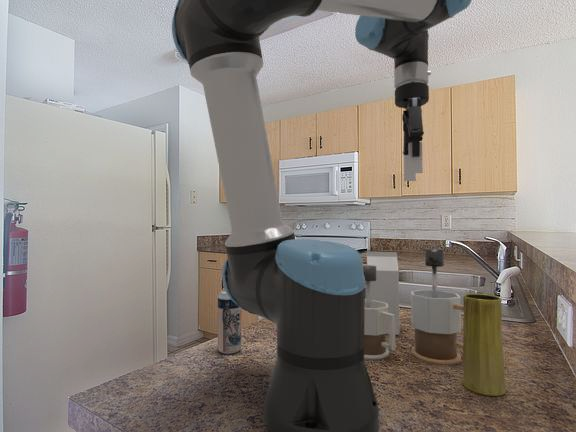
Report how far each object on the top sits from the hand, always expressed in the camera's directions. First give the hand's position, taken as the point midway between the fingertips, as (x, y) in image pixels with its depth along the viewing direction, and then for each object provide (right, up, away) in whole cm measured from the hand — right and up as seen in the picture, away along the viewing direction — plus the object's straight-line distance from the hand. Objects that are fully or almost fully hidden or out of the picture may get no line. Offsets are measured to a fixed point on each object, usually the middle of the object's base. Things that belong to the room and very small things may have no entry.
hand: (412, 177), depth 79 cm
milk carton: (-6, -37, +4) cm, 38 cm away
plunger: (0, -30, -12) cm, 32 cm away
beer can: (-41, -37, -10) cm, 56 cm away
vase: (+2, -36, -26) cm, 44 cm away
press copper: (+1, -36, -14) cm, 39 cm away
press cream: (-12, -36, -12) cm, 40 cm away
